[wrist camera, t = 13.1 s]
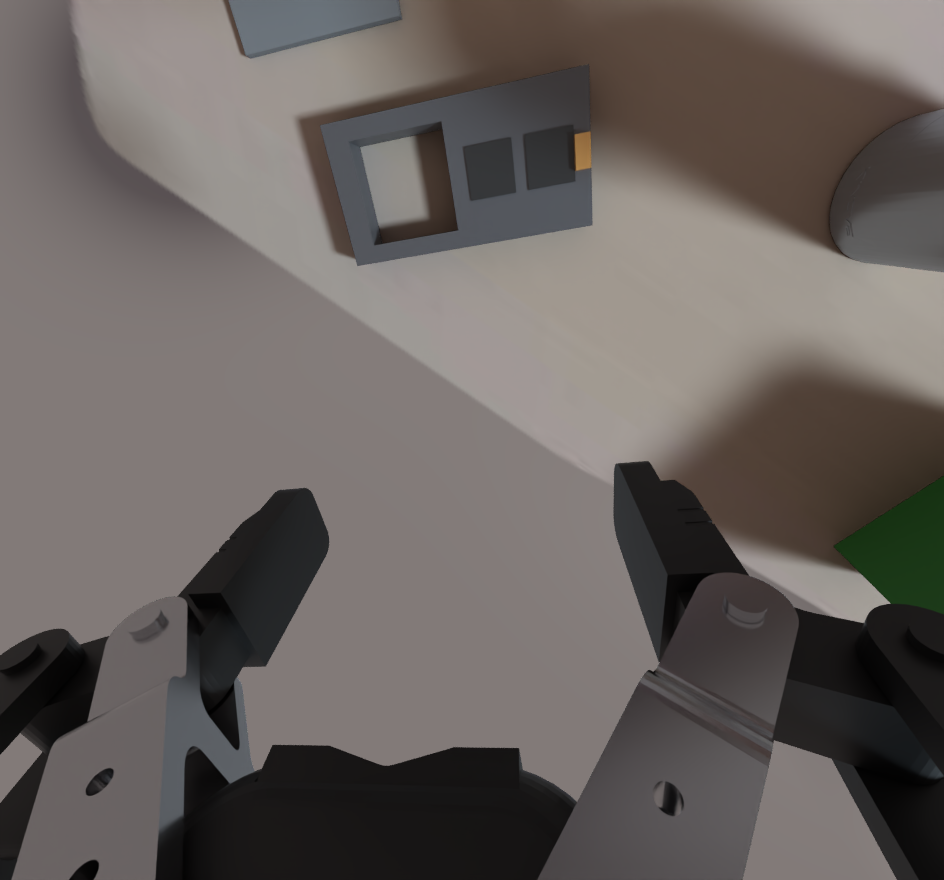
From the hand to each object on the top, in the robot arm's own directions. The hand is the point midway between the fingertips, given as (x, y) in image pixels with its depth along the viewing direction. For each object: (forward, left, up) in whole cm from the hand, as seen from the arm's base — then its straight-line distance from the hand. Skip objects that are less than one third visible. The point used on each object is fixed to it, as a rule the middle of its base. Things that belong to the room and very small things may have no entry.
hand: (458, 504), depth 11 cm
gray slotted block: (+1, -10, -28) cm, 29 cm away
